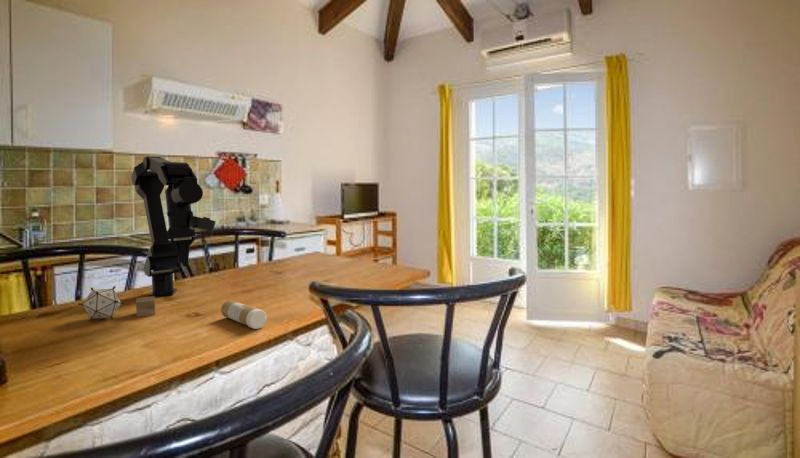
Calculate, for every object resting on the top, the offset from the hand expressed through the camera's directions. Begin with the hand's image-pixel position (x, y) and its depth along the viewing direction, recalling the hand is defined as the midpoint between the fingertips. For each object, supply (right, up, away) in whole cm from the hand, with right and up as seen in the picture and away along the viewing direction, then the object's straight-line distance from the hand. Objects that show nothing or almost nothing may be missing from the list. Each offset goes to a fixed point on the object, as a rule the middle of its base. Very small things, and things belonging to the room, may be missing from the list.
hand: (185, 266), depth 110 cm
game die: (-17, -13, -7) cm, 22 cm away
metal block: (-9, -12, -3) cm, 15 cm away
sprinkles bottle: (+13, -10, -5) cm, 18 cm away
